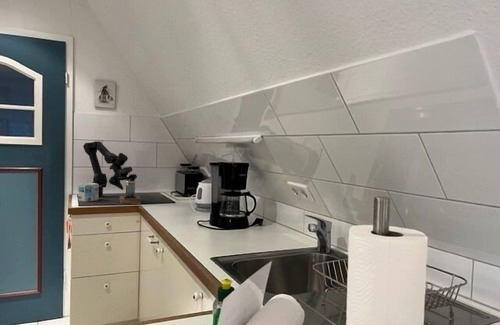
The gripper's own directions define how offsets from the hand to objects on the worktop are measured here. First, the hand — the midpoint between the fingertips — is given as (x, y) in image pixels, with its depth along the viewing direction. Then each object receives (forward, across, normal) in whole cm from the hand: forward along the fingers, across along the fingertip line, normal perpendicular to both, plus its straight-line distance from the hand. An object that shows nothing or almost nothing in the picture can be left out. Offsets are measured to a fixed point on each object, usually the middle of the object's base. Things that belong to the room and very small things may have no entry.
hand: (128, 188), depth 247 cm
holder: (+7, 0, +5) cm, 9 cm away
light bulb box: (-10, -14, +22) cm, 28 cm away
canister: (+7, 0, +4) cm, 8 cm away
